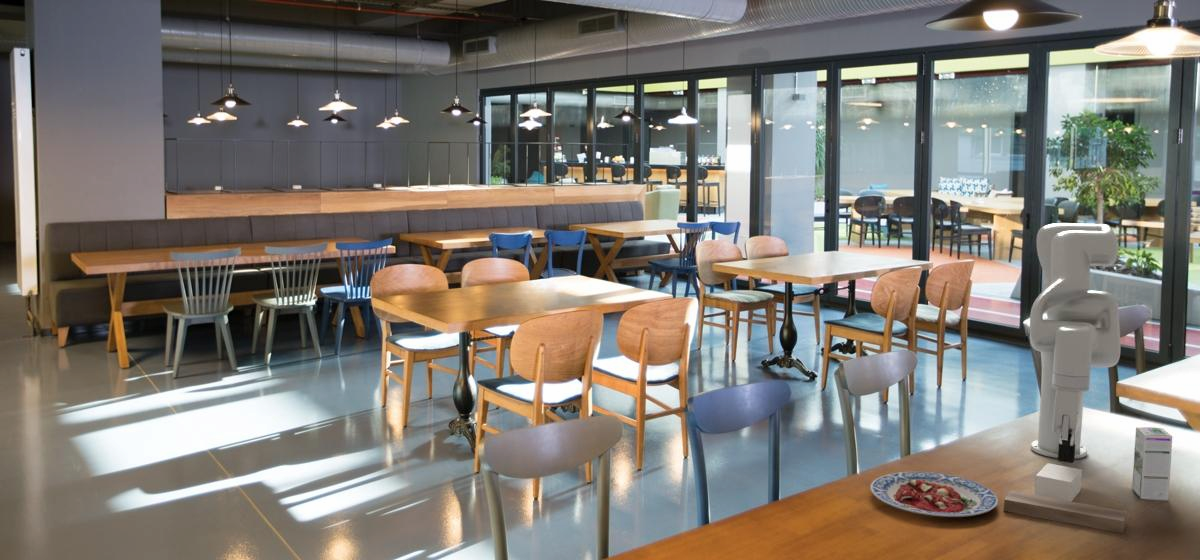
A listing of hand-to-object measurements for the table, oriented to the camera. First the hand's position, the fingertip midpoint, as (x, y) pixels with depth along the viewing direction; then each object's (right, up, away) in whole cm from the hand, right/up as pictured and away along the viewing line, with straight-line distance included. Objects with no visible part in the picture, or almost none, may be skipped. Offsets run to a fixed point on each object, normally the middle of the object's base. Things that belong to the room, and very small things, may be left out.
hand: (1066, 461), depth 217 cm
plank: (-10, -8, -20) cm, 24 cm away
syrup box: (+14, -6, -9) cm, 18 cm away
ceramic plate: (-34, -7, -11) cm, 36 cm away
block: (-5, -6, -7) cm, 11 cm away
